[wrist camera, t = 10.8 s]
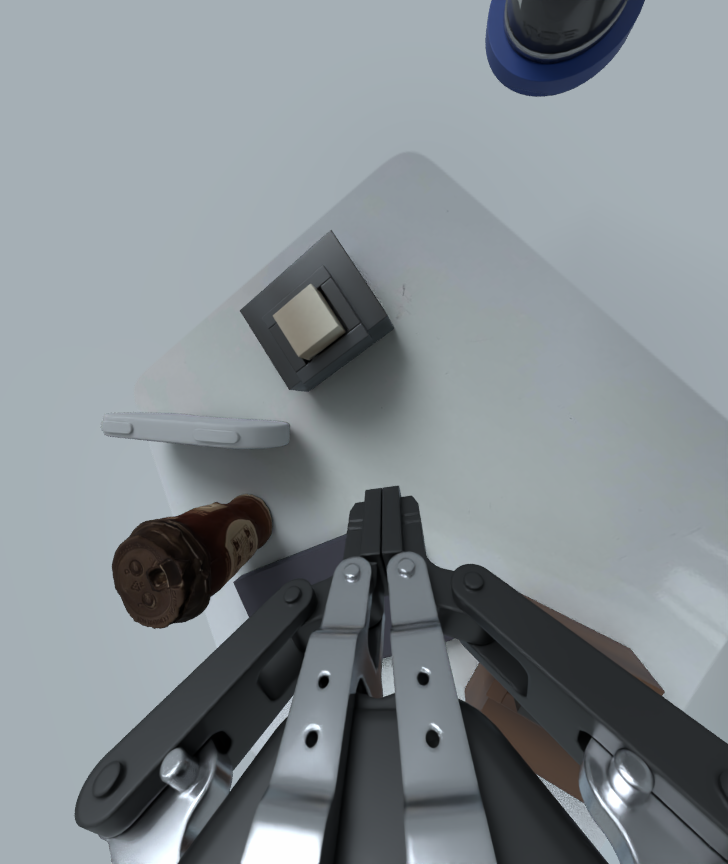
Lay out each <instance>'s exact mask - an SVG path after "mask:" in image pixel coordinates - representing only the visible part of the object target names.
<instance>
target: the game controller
mask: <svg viewBox="0 0 728 864" xmlns="http://www.w3.org/2000/svg"><path fill="white" fill-rule="evenodd" d="M101 429H102V431H103V433H104V435H106V436H110V437H118V438H128V439H138V440H147V441H157V442H167V443H177V444H187V445H197V446H207V447H218V448H231V449H260V448H273V447H280V446H284V445H287V444H288V443H289V435H290V425H289V423H286V422H281V421H272V420H256V419H235V418H221V417H208V416H195V415H188V414H175V413H137V412H135V413H107V414H104V415H103V421H102V422H101Z"/></svg>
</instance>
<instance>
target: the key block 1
mask: <svg viewBox="0 0 728 864" xmlns="http://www.w3.org/2000/svg"><path fill="white" fill-rule="evenodd" d="M309 284H312V285H313V286H314V287H315V288H316V289H317V290H318V291H319V292H320V293H321V294H322V295H323V297H324V299H325V300H326V302H327V303H328V305H329V306H330V308H331V309H332V311H333V313H334V314H335V316H336V317H337V319H338V320H339V322H340V323H341V325H342V326H343V328H344V330H345V331H346V332H345V333H344V334H343V335H342V336H340V337H339V338H338V339H336V340H335V341H334V342H333V343H331V344H330V345H329V346H327V347H326V348H325V349H323V350H322V351H321V352H320V353H318V354H317V355H316V356H314V357H313V358H312V359H311V360H306V359H303V358H300V357H298V355H297V354H296V352H295V351H294V349H293V347H292V346H291V344H290V343H289V341H288V340H287V338H286V336H285V335H284V333H283V332H282V330H281V328H280V327H279V325H278V324H277V322H276V321H275V319H274V317H273V315H274V314H275V313H276V312H278V311H279V310H280V309H281V308H282V307H283V306H285V305H286V304H287V303H288V302H289V301H290V300H292V299H293V298H294V297H295V296H296V295H298V294H299V293H300V292H301V291H302V290H303V289H305V288H306V287H307V286H308V285H309ZM240 312H241V313H242V315H243V316H244V318H245V320H246V321H247V323H248V324H249V326H250V328H251V329H252V331H253V332H254V334H255V336H256V337H257V339H258V340H259V342H260V344H261V345H262V347H263V348H264V350H265V352H266V353H267V355H268V356H269V358H270V360H271V361H272V363H273V364H274V366H275V368H276V369H277V371H278V373H279V374H280V376H281V377H282V379H283V381H284V382H285V384H286V385H287V387H288V389H289V390H296V391H304V392H309V391H310V390H311V389H313V388H314V387H315V386H317V385H318V384H320V383H321V382H322V381H324V380H325V379H326V378H328V377H329V376H330V375H332V374H333V373H334V372H336V371H337V370H338V369H340V368H341V367H343V366H344V365H345V364H347V363H348V362H349V361H351V360H352V359H353V358H355V357H356V356H357V355H359V354H360V353H362V352H363V351H364V350H366V349H367V348H368V347H370V346H371V345H372V344H374V343H375V342H376V341H378V340H379V339H381V338H382V337H383V336H385V335H386V334H387V333H389V332H390V331H391V330H393V329H394V326H393V324H392V322H391V321H390V319H389V317H388V315H387V314H386V312H385V311H384V309H383V308H382V306H381V305H380V303H379V301H378V300H377V298H376V297H375V295H374V294H373V292H372V291H371V289H370V288H369V286H368V285H367V283H366V282H365V280H364V279H363V277H362V276H361V274H360V273H359V271H358V270H357V268H356V267H355V265H354V264H353V262H352V260H351V259H350V257H349V256H348V254H347V253H346V251H345V250H344V248H343V247H342V245H341V244H340V242H339V241H338V239H337V238H336V236H335V235H334V233H333V232H332V230H330V231H329V232H328V233H327V234H326V235H325V236H323V237H322V238H321V239H320V240H319V241H318V242H317V243H316V244H314V245H313V246H312V247H311V248H310V249H309V250H308V251H306V252H305V253H304V254H303V255H302V256H301V257H300V258H299V259H297V260H296V261H295V262H294V263H293V264H292V265H291V266H290V267H288V268H287V269H286V270H285V271H284V272H283V273H282V274H281V275H279V276H278V277H277V278H276V279H275V280H274V281H273V282H272V283H270V284H269V285H268V286H267V287H266V288H265V289H264V290H263V291H261V292H260V293H259V294H258V295H257V296H256V297H255V298H254V299H252V300H251V301H250V302H249V303H248V304H247V305H246V306H244V307H243V308H242V309H241V310H240Z"/></svg>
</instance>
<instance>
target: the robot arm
mask: <svg viewBox="0 0 728 864" xmlns="http://www.w3.org/2000/svg"><path fill="white" fill-rule="evenodd" d="M627 1H628V0H506V3H505V9H504V30H505V35H506V37H507V40H508V42H509V44H510V46H511V47H512V49H513V50H514V51H515V52H516V53H517V54H518V55H519V56H521V57H522V58H524V59H526V60H528V61H531V62H534V63H539V64H555V63H561V62H564V61H568V60H570V59H573V58H575V57H577V56H579V55H581V54H583V53H585V52H586V51H588V50H589V49H591V48H592V47H593V46H595V45H596V44H597V43H598V42H599V41H601V40H602V39H603V38H604V37H605V36H606V35H607V34H608V32H609V31H610V30H611V29H612V28H613V26H614V25H615V23H616V22H617V20H618V19H619V17H620V15H621V13H622V11H623V9H624V7H625V5H626V3H627ZM384 596H389V600H390V611H391V622H392V628H391V629H390V639H391V651H392V663H393V675H394V686H395V693H393V694H391V695H388V696H385V697H383V688H382V678H381V672H382V657H383V643H384V629H385V612H384ZM443 635H446V636H450V637H453V638H456V639H459V640H460V642H461V643H462V645H463V646H464V647H465V648H466V649H467V650H468V651H469V652H470V653H471V654H472V655H473V656H474V657H475V658H476V659H477V660H478V661H479V662H480V663H481V664H482V665H483V666H484V667H485V669H486V670H487V671H488V672H489V673H490V674H491V675H492V676H493V677H494V678H495V679H496V680H497V681H498V682H499V683H500V684H501V685H502V686H503V687H504V688H505V689H506V690H507V691H508V692H509V693H510V694H511V695H512V696H513V697H514V698H515V699H516V700H517V701H518V702H519V703H520V704H521V705H522V707H523V708H524V709H525V710H526V711H527V712H528V713H529V714H530V715H531V716H532V717H533V718H534V719H535V720H536V721H537V722H538V723H539V724H540V725H541V726H542V727H543V728H544V729H545V730H546V731H547V732H548V733H549V734H550V735H551V736H552V737H553V738H554V739H555V740H556V741H557V742H558V743H559V745H560V746H561V747H562V748H563V749H564V750H565V751H566V752H567V753H568V754H569V755H570V756H571V757H572V758H573V759H574V760H575V761H576V762H577V763H578V764H579V765H580V768H579V774H578V781H579V788H580V792H581V795H582V798H583V801H584V803H585V805H586V807H587V809H588V811H589V813H590V815H591V816H592V818H593V819H594V821H595V822H596V824H597V825H598V826H599V828H600V829H601V830H602V832H603V833H604V834H605V836H606V837H607V839H608V840H609V842H610V843H611V845H612V847H613V849H614V851H615V853H616V855H617V857H618V859H619V861H620V864H728V744H727V743H726V742H724V741H723V740H722V739H720V738H719V737H717V736H716V735H715V734H713V733H712V732H711V731H709V730H707V729H706V728H705V727H704V726H702V725H701V724H699V723H698V722H697V721H695V720H694V719H692V718H691V717H690V716H688V715H687V714H686V713H684V712H683V711H682V710H680V709H679V708H677V707H676V706H675V705H673V704H672V703H671V702H669V701H668V700H666V699H665V698H664V697H662V696H661V695H660V694H658V693H657V692H655V691H654V690H653V689H651V688H650V687H649V686H647V685H646V684H644V683H643V682H642V681H640V680H639V679H637V678H636V677H635V676H633V675H632V674H631V673H629V672H628V671H626V670H625V669H624V668H622V667H621V666H620V665H618V664H617V663H615V662H614V661H613V660H611V659H610V658H609V657H607V656H606V655H604V654H603V653H602V652H600V651H599V650H598V649H596V648H595V647H593V646H592V645H591V644H589V643H588V642H586V641H585V640H584V639H582V638H581V637H580V636H578V635H577V634H575V633H574V632H573V631H571V630H570V629H569V628H567V627H566V626H564V625H563V624H562V623H560V622H559V621H558V620H556V619H555V618H553V617H552V616H551V615H549V614H548V613H547V612H545V611H544V610H542V609H541V608H540V607H538V606H537V605H535V604H534V603H533V602H531V601H530V600H529V599H527V598H526V597H524V596H523V595H522V594H520V593H519V592H518V591H516V590H515V589H513V588H512V587H511V586H509V585H508V584H507V583H505V582H504V581H502V580H501V579H500V578H498V577H497V576H496V575H494V574H493V573H491V572H490V571H489V570H487V569H486V568H484V567H482V566H479V565H475V564H465V565H462V566H460V567H458V568H457V569H456V570H455V571H452V570H447V569H443V568H440V567H437V566H436V565H434V564H433V563H432V562H430V560H429V559H428V558H427V556H426V550H425V543H424V536H423V529H422V524H421V518H420V512H419V506H418V503H417V501H416V500H415V499H414V498H413V496H406V497H401V493H400V488H399V486H392V487H385V488H383V490H382V488H378V489H370V490H366V491H365V501H364V502H359V503H355V505H354V506H353V508H352V509H351V511H350V515H349V523H348V531H347V536H346V543H345V550H344V557H343V561H342V562H341V563H340V564H339V565H338V566H337V567H336V569H335V571H334V574H333V575H332V576H331V577H329V578H327V579H325V580H323V581H320V582H318V583H315V584H313V585H311V584H310V582H309V581H307V580H306V579H302V578H297V579H293V580H291V581H289V582H287V583H285V584H284V585H283V586H282V587H281V588H280V589H279V590H278V591H277V592H276V593H275V594H274V595H272V596H271V597H270V598H269V599H268V600H267V601H266V602H265V603H264V604H263V605H262V606H261V607H260V608H259V609H258V610H257V611H256V612H255V613H254V614H253V615H252V616H251V617H249V618H248V619H247V620H246V621H245V622H244V623H243V624H242V625H241V626H240V627H239V628H238V629H237V630H236V631H235V632H234V633H233V634H232V635H231V636H230V637H229V638H228V639H226V640H225V641H224V642H223V643H222V644H221V645H220V646H219V647H218V648H217V649H216V650H215V651H214V652H213V653H212V654H211V655H210V656H209V657H208V658H207V659H206V660H205V661H204V662H203V663H201V664H200V665H199V666H198V667H197V668H196V669H195V670H194V671H193V672H192V673H191V674H190V675H189V676H188V677H187V678H186V679H185V680H184V681H183V682H182V683H181V684H179V685H178V686H177V687H176V688H175V689H174V690H173V691H172V692H171V693H170V694H169V695H168V696H167V697H166V698H165V699H164V700H163V701H162V702H161V703H160V704H159V705H157V706H156V707H155V708H154V709H153V710H152V711H151V712H150V713H149V714H148V715H147V716H146V717H145V718H144V719H143V720H142V721H141V722H140V723H139V724H138V725H137V726H136V727H135V728H134V729H132V730H131V731H130V732H129V733H128V734H127V735H126V736H125V737H124V738H123V739H122V740H121V741H120V742H119V743H118V744H117V745H116V746H115V747H114V748H113V749H112V750H110V752H108V753H107V754H106V755H105V756H104V757H103V758H102V760H100V762H99V763H98V764H97V765H96V766H95V768H94V769H93V771H92V772H91V774H90V775H89V776H88V778H87V780H86V781H85V783H84V785H83V787H82V789H81V791H80V794H79V796H78V799H77V802H76V807H75V820H76V823H77V824H78V826H80V827H82V828H84V829H86V830H89V831H91V832H93V833H96V834H98V835H99V837H100V838H101V839H103V840H105V841H107V842H108V844H109V849H110V855H111V862H112V864H608V862H607V861H606V860H605V859H604V857H603V856H602V855H601V854H600V852H599V851H598V850H597V849H596V847H595V846H594V845H593V844H592V843H591V841H590V840H589V839H588V838H587V836H586V835H585V834H584V833H583V832H582V830H581V829H580V828H579V827H578V825H577V824H576V823H575V822H574V820H573V819H572V818H571V817H570V816H569V814H568V813H567V812H566V811H565V809H564V808H563V807H562V806H561V804H560V803H559V802H558V801H557V800H556V798H555V797H554V796H553V795H552V793H551V792H550V791H549V790H548V789H547V787H546V786H545V785H544V784H543V782H542V781H541V780H540V779H539V777H538V776H537V775H536V774H535V773H534V771H533V770H532V769H531V768H530V766H529V765H528V764H527V763H526V761H525V760H524V759H523V758H522V757H521V755H520V754H519V753H518V752H517V750H516V749H515V748H514V747H513V746H512V744H511V743H510V742H509V741H508V739H507V738H506V737H505V736H504V734H503V733H502V732H501V731H500V730H499V728H498V727H497V726H496V725H495V724H494V723H493V722H492V721H491V720H490V719H489V718H488V717H487V716H486V715H484V714H483V713H482V712H481V711H479V710H478V709H477V708H475V707H473V706H472V705H470V704H469V703H467V702H464V701H462V700H460V699H458V697H457V692H456V688H455V684H454V679H453V675H452V671H451V666H450V662H449V658H448V653H447V649H446V645H445V641H444V636H443ZM293 695H294V696H293ZM292 696H293V700H292V703H291V707H290V711H289V715H288V717H287V718H286V719H285V720H284V721H283V722H282V723H281V724H280V725H279V726H278V727H277V729H276V730H275V731H274V733H273V734H272V735H271V737H270V738H269V739H268V741H267V742H266V743H265V745H264V746H263V748H262V749H261V750H260V752H259V753H258V754H257V756H256V757H255V758H254V760H253V761H252V763H251V764H250V765H249V767H248V768H247V769H246V771H245V772H244V773H243V775H242V776H241V778H240V779H239V780H238V782H237V783H236V784H235V786H234V787H233V788H232V790H231V791H230V788H231V783H232V777H233V770H234V769H235V768H236V767H237V765H238V764H239V763H240V762H241V760H242V759H243V758H244V757H245V755H246V754H247V753H248V751H249V750H250V749H251V748H252V746H253V745H254V744H255V743H256V741H257V740H258V739H259V738H260V736H261V735H262V734H263V733H264V731H265V730H266V729H267V728H268V726H269V725H270V724H271V723H272V721H273V720H274V719H275V718H276V716H277V715H278V714H279V712H280V711H281V710H282V709H283V707H284V706H285V705H286V704H287V702H288V701H289V700H290V699H291V697H292Z"/></svg>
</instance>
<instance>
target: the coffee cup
mask: <svg viewBox="0 0 728 864" xmlns="http://www.w3.org/2000/svg"><path fill="white" fill-rule="evenodd" d="M271 533H272V518H271V515H270V512H269V509H268V508H267V506H266V505H265V503H264V502H263V500H262V499H260V498H258V497H255V496H254V495H248V494H243V495H239V496H237V497H236V498H234V499H233V500H232V501H231V502H230V503H228V504H220V503H218V502H215V503H213V504H210V505H206V506H201V507H198V508H193V509H192V510H189V511H187V512H185V513H184V514H182V515H179V516H175V517H166V518H162V519H155V520H149V521H145V522H143V523H141V524H140V525H139V526H137V528H135V529H134V530H133V532H132V533H131V535H130V536H129V537H128V538H127V539H126V540H125V541H124V542H122V543H121V544H120V546H119V547H118V548H117V550H116V552H115V555H114V558H113V563H112V571H113V578H114V584H115V589H116V590H117V592H118V594H119V595H120V596H121V599H122V601H123V603H124V606H125V608H126V610H127V612H128V613H129V614H130V616H131V617H132V618H133V619H134V621H135V622H138V623H140V624H141V625H143V626H147V627H152V628H154V629H155V628H165V627H168V626H169V625H170V624H173V623H182V622H186V621H188V620H190V619H193V618H195V617H197V616H198V615H200V614H201V613H202V612H203V611H204V610H205V609H206V608H207V606H208V604H209V601H210V597H211V596H212V595H214V594H215V593H217V592H218V591H219V590H220V589H221V588H222V587H223V586H224V585H225V584H226V583H227V582H228V581H229V580H230V579H231V578H232V577H233V576H234V575H235V574H236V573H237V572H238V571H239V569H240V568H241V567H242V566H243V565H244V564H245V563H246V562H247V561H248V560H249V559H250V558H251V557H252V556H253V555H254V553H255V552H256V550H257V549H259V548H261V547H262V546H263V545H264V544H265V543H266V542H267V540H268V539H269V537H270V536H271Z"/></svg>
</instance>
